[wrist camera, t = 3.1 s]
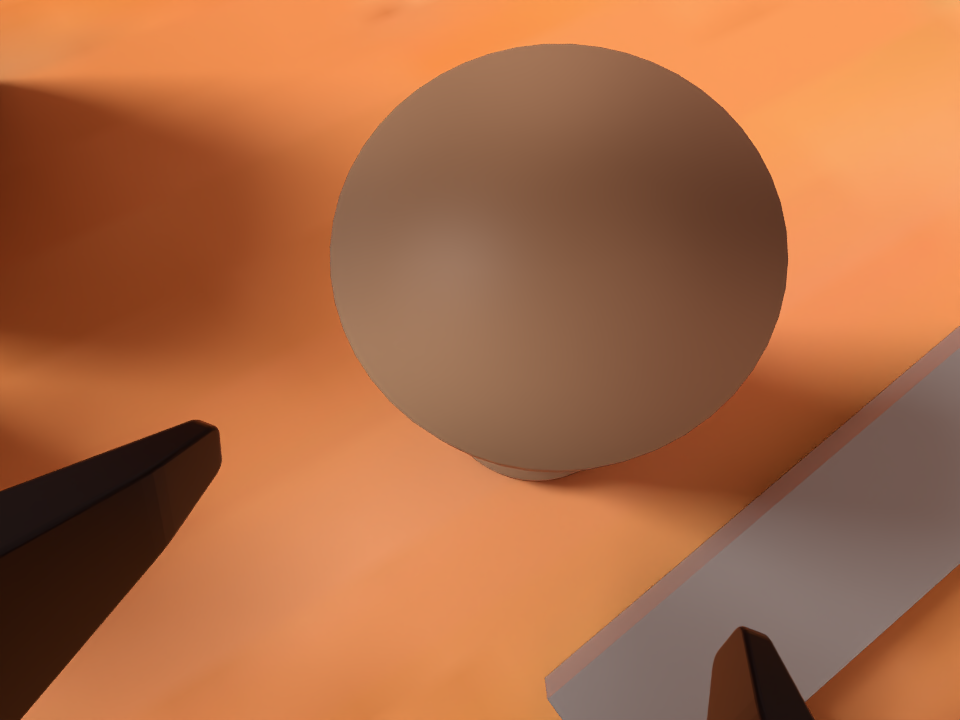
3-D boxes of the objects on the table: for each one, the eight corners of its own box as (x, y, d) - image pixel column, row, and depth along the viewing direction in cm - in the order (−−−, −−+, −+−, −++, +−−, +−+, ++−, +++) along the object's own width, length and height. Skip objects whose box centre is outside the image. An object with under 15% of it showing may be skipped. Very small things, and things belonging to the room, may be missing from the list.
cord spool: (645, 465, 21) (844, 430, 8) (454, 493, 21) (352, 503, 8) (608, 284, 22) (726, 11, 9) (431, 312, 22) (313, 82, 10)
